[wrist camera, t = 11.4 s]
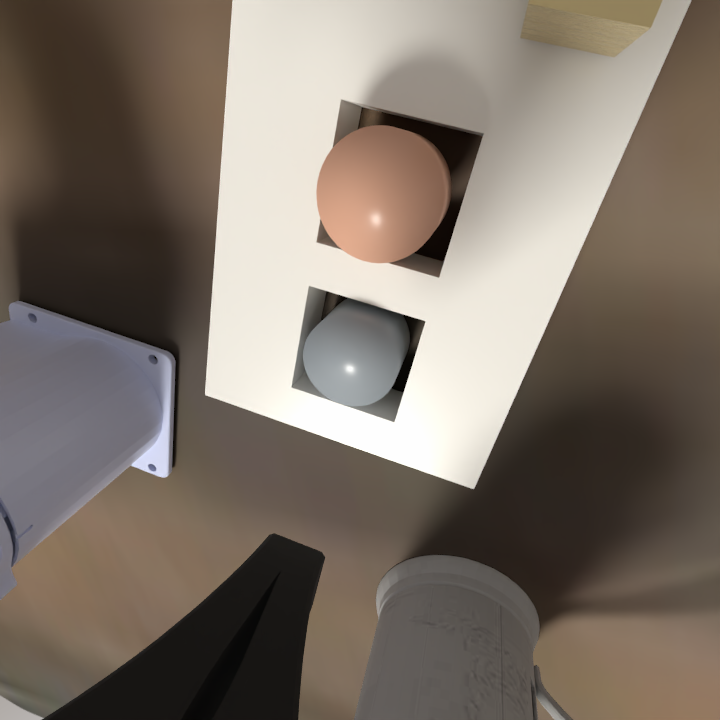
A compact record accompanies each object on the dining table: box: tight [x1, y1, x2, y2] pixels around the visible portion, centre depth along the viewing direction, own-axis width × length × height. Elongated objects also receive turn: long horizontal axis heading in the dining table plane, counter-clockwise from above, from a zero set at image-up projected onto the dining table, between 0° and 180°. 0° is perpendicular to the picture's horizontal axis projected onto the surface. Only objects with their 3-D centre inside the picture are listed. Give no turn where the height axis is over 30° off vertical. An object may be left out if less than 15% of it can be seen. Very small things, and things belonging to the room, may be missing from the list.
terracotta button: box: [316, 125, 452, 263], centre depth 14 cm, size 4×4×3 cm
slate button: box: [303, 298, 410, 406], centre depth 18 cm, size 4×4×3 cm
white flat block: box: [205, 0, 691, 489], centre depth 15 cm, size 12×20×3 cm, turn 167°
